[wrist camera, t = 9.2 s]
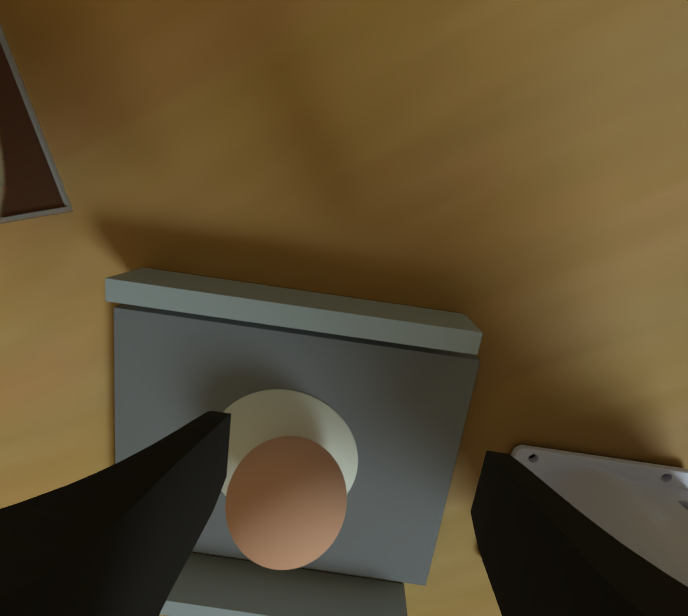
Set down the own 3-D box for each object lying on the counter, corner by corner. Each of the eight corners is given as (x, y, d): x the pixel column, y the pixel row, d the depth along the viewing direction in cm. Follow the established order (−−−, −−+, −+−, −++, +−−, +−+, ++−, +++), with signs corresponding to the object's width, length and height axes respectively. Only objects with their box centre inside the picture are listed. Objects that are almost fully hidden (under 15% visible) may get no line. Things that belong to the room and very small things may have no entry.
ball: (346, 423, 21) (380, 498, 16) (314, 508, 22) (336, 604, 17) (243, 405, 19) (244, 482, 14) (215, 498, 20) (206, 602, 15)
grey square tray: (464, 313, 19) (482, 332, 17) (400, 596, 24) (406, 650, 21) (143, 267, 19) (104, 278, 17) (140, 558, 24) (110, 606, 21)
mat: (475, 354, 20) (480, 361, 19) (423, 573, 23) (425, 587, 23) (123, 303, 20) (112, 308, 19) (124, 529, 24) (115, 541, 23)
